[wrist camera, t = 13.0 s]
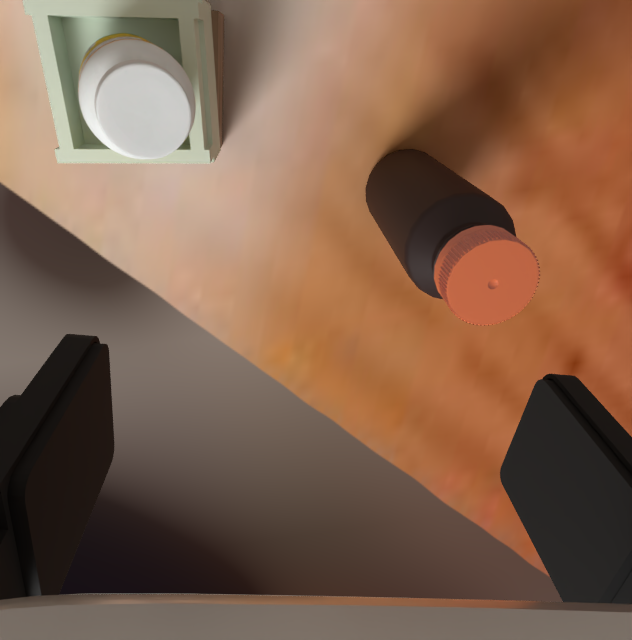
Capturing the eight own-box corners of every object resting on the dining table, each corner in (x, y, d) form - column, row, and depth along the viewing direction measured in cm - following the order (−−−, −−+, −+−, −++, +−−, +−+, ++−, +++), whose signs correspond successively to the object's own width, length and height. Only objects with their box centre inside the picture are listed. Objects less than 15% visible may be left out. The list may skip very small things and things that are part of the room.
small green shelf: (210, 4, 33) (197, -6, 27) (220, 150, 37) (210, 168, 31) (65, 0, 32) (20, -11, 26) (92, 149, 36) (58, 168, 30)
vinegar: (370, 144, 41) (442, 213, 24) (450, 151, 42) (578, 224, 25) (359, 225, 45) (415, 339, 27) (434, 230, 45) (536, 344, 28)
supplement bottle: (62, 44, 28) (53, 58, 20) (158, 22, 29) (184, 28, 21) (103, 143, 31) (108, 188, 23) (189, 120, 32) (221, 156, 24)
